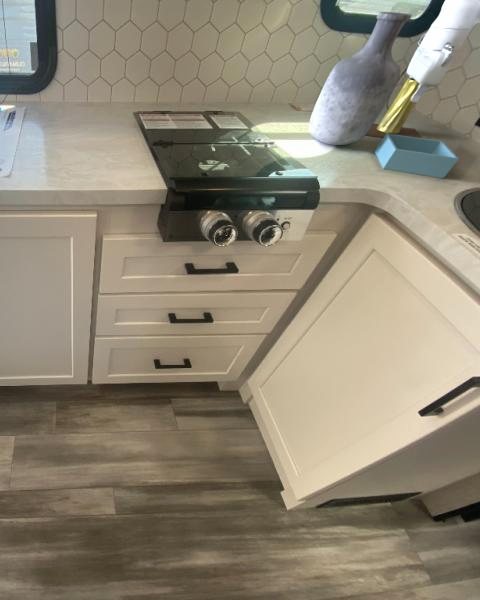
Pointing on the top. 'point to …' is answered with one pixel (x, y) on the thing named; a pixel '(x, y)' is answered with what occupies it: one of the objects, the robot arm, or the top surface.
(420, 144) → the crate
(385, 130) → the vase
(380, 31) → the vase
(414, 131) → the mat
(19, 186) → the top surface
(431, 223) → the top surface
